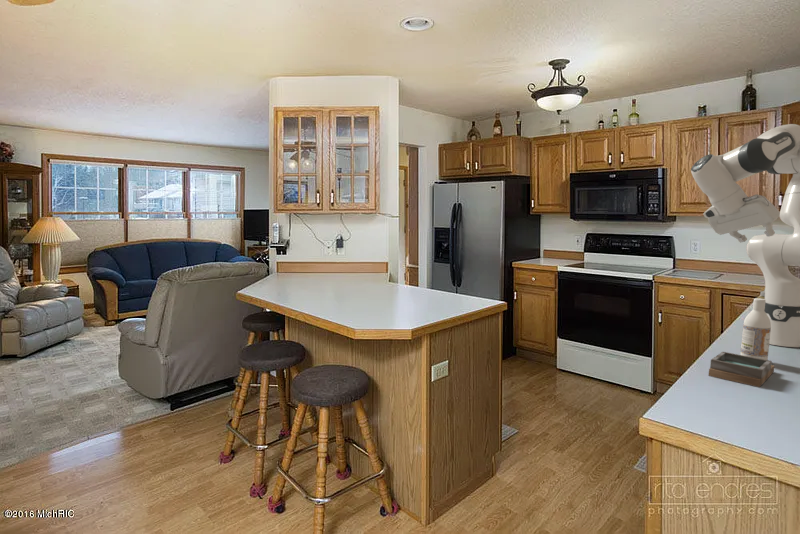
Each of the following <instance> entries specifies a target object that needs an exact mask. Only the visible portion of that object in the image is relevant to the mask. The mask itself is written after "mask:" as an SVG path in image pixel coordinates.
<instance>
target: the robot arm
mask: <svg viewBox="0 0 800 534" xmlns="http://www.w3.org/2000/svg"><path fill="white" fill-rule="evenodd" d="M690 172H691V175H692V178H693V179H694V182H695V183H696V185H697V186H698V187H699V189H700V191H702V193H703V194H705V195H706V197H708V200H709V203H710V204H711V205H710V206H709V207H708V209H707V210H705V211H704V212H703V214H702V215H703V217H704V218H705V219H707V221H708V225H710V227H711V228H712V230H713V231H714V232H715V233H716V234H717V235H720V236H721V235H725V234H729V236H731V237H733V238H734V239H736V240H738V242H739V243H744V242H746V241H747V240H748V238H747V236H746V234H741V233H740V232H739V231H742V230H745V229H750V228H753V227H754V228H755V227H758V226H762V227H763V228H765V231H764V232H763V234H758V235H757V234H756V235H753V236H752V237H751V238H750V239H749V240H748V242H747V244H746V254H747V256H748V258H749V259H750V260H752V261H753V262H754V263H755V264H756V265H757V266H758V268H759V269H760V271H761V272H762V275H763V278H764V283H765V284H764V285H765V286H764V290H765V300H766V301H765V310H764V311H765V313H766V314H767V316H768V317H769V319H770V322H771V333H770V342H769V345H772V346H780V347H787V348H800V278H799V277H798V276H795V275H794V274H792V273H791V272H790V270H789V269H790V268H789V266H791V267H800V125H799V124H795V123H789V124H782V125H780V126H779V125H778V126H776V127H773V128H771V129H769V130H767V131H764V132H763V133H762V134H760V135H758V136H757V137H756V138H753V139H751V140H749V141H747V142H746V143H744V144H742V145H741V146H738V147H735V148H734V149H732V150H730V151H727V152H726V153H724V154H720V155H714V154H711V153H710V154H707V155H704V156H703V157H701V158H699V160H697V161H696V162H694V164H693V165H692V166H691V168H690ZM763 172H767V173H768V174H771V175H772V174H773V175H782V174H783V175H784V174H788V175H789V174H792V177H791V179H790V180H789V182H788V185H787V187H786V190H785V192H784V196H783V200H782V202H781V207H780V210H779V209H778V208H777V207H776V206H775V205H774V204H773V203H772V202H771V201H770V200H769V199H768V198H766V197H767V196H764V195H761V194H754V195H750V196H748V195H747V194H746V191H744V189H743V188H742V187H741V185H740V184H738V183H737V182H739V181H741V180H744V179H747V178H749V177H751V176H754V175H756V174H757V175H758V174H759V173H763ZM778 218H779V219H780V220H781V222H782V223H784V224H785V225H787V226H789V227H791V228H793V232H792V233H791V234H787V233H776V232H775V231H774V229H773V223H774V222H775V221H776V220H778Z"/></svg>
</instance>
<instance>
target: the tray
mask: <svg viewBox="0 0 800 534" xmlns="http://www.w3.org/2000/svg"><path fill="white" fill-rule="evenodd" d="M772 361H773V360H764V359H759V358H754V357H748V356H743V355H741V354H739V353H738V354H737V353H732V352H728V351H727V352H726V351H721V352H720V353H718V354H717V355H716V356H714V357H713V358H711V359H710V367H709V368H708V376H709V377H714V378H717V379H722V380H727V381H731V382H735V383H740V384H744V385H749V386H753V387H757V388H760V387H761V386H762V385H763V384H764V383H765V382H766V381H767V380H768V379H769V378H770V377H771V376H772V375H773V374H774V372H775V365H772Z"/></svg>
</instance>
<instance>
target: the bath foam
mask: <svg viewBox="0 0 800 534" xmlns="http://www.w3.org/2000/svg"><path fill="white" fill-rule="evenodd" d="M765 301H766V300H765V299H760V298H757V297H755V298H753V303H752V310H750V312H749V313H748V314H747V315H746V317H745V318H744V320H743V325H742V333H741V334H742V335H741V345H740V355H743V356H748V357H754V358H759V359H764V360H768V359H769V350H770V344H769V342H770V333H771V322H770V319H769V317H768V316H767V314H766V313H765V311H764V310H765Z"/></svg>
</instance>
